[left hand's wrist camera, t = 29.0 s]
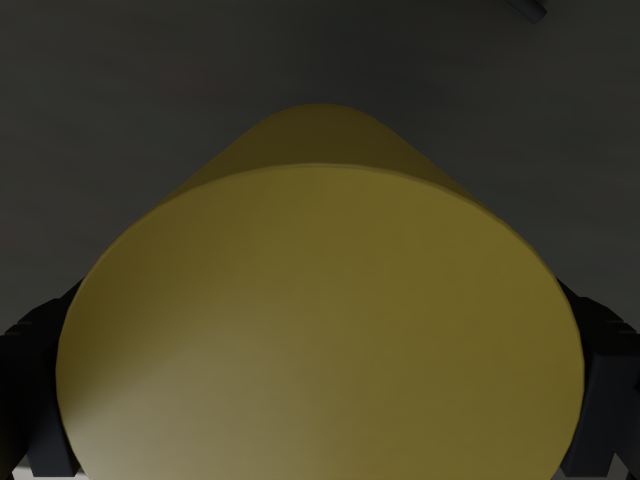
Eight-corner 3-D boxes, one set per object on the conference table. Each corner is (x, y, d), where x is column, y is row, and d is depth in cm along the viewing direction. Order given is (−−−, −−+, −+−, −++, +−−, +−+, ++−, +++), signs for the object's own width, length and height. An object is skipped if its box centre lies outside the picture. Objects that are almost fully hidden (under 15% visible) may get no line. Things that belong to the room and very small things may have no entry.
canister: (273, 58, 17) (175, 30, 5) (467, 172, 18) (707, 335, 7) (182, 250, 20) (-7, 495, 8) (356, 334, 21) (398, 635, 10)
